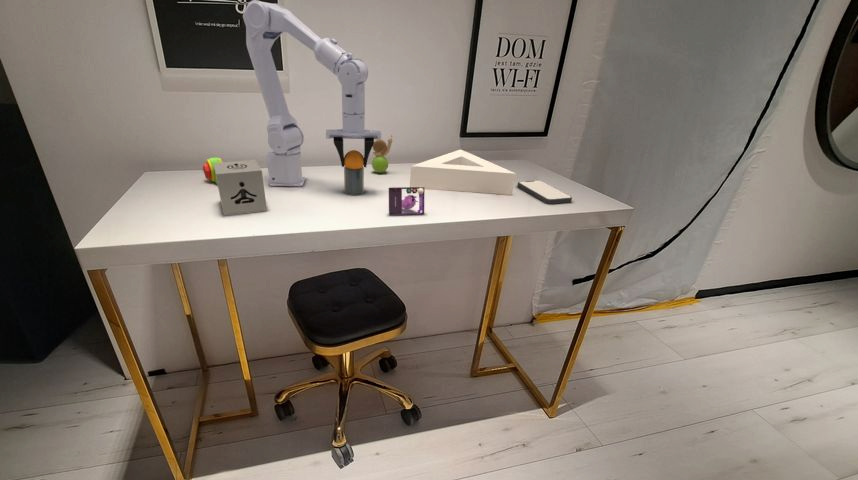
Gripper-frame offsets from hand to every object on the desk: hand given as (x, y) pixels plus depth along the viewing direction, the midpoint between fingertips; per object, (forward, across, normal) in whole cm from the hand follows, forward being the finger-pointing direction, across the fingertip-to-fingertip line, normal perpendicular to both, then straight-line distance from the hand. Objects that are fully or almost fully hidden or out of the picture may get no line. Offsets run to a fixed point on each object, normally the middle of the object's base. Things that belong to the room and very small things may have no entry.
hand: (353, 166), depth 108 cm
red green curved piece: (+8, -42, +12) cm, 44 cm away
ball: (+1, 0, 0) cm, 1 cm away
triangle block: (+8, +29, +9) cm, 31 cm away
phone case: (+8, +56, 0) cm, 57 cm away
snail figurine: (+8, +9, +20) cm, 23 cm away
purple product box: (+8, +13, -15) cm, 21 cm away
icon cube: (+8, -28, -12) cm, 31 cm away
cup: (+7, 0, 0) cm, 7 cm away
